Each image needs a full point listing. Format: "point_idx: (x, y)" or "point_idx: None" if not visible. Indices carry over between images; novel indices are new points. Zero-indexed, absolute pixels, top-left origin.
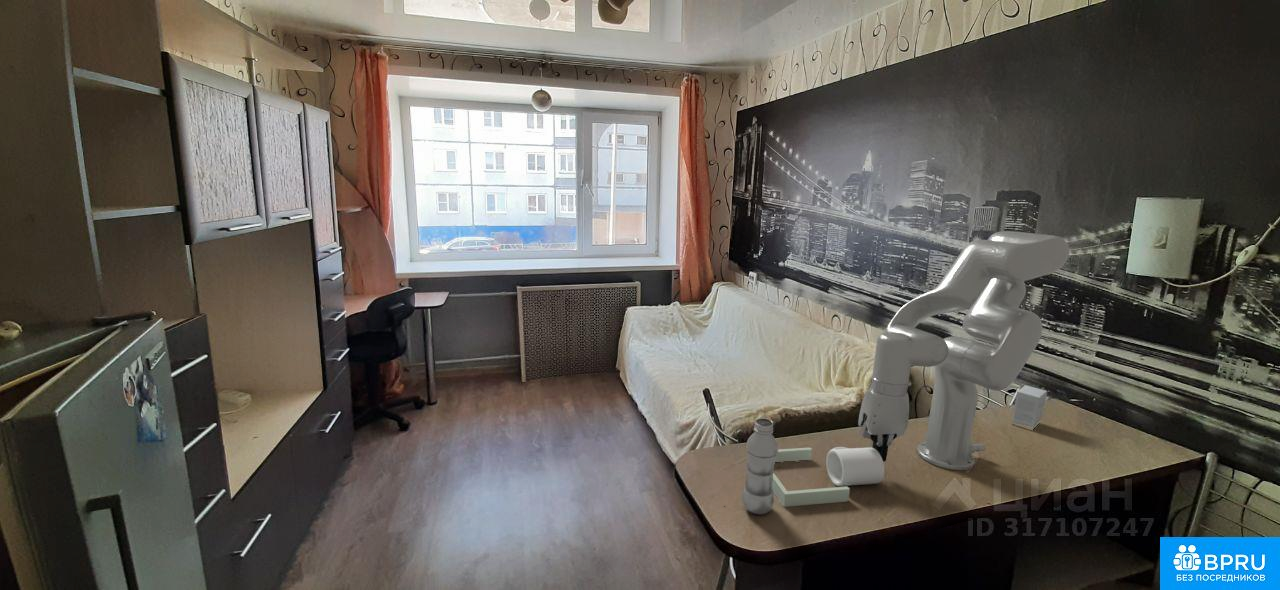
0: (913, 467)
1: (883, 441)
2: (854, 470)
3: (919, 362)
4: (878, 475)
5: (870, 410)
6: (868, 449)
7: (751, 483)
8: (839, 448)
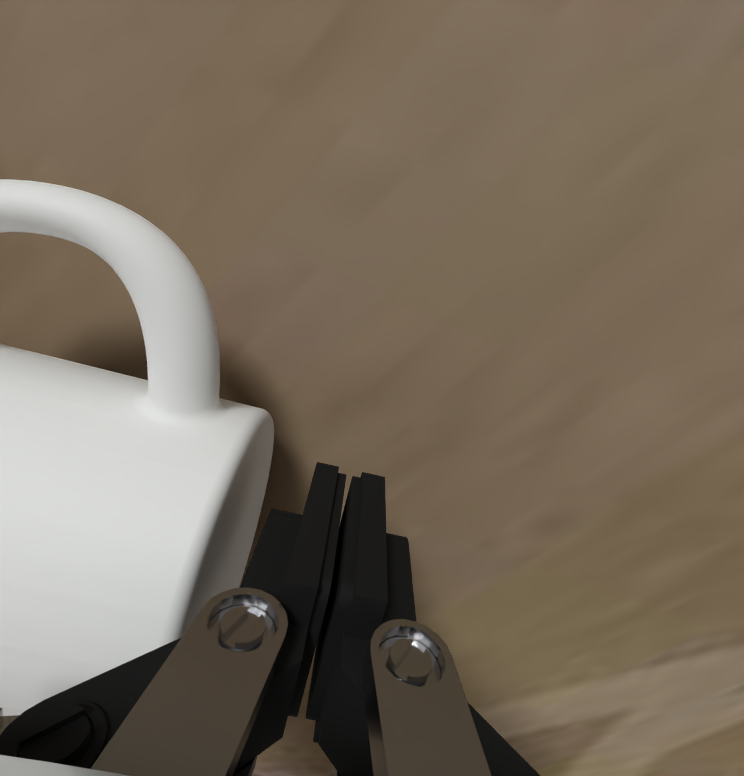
0: (690, 472)
1: (329, 729)
2: None
3: None
4: None
5: None
6: (52, 682)
7: None
8: (31, 226)
